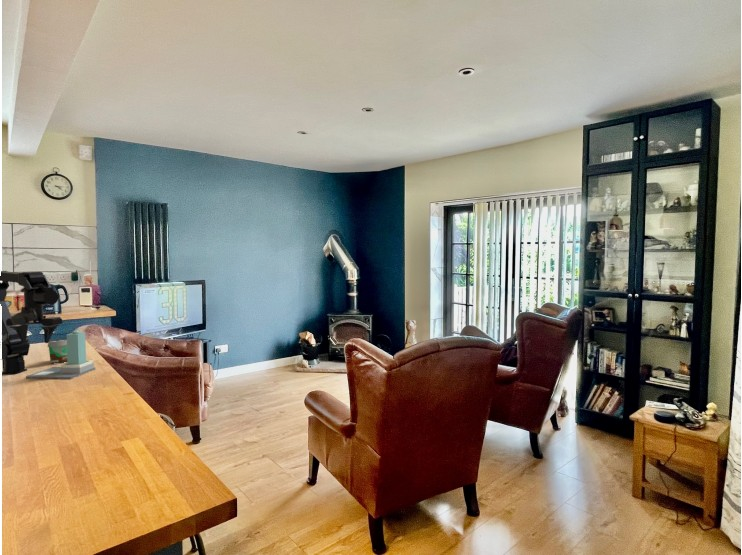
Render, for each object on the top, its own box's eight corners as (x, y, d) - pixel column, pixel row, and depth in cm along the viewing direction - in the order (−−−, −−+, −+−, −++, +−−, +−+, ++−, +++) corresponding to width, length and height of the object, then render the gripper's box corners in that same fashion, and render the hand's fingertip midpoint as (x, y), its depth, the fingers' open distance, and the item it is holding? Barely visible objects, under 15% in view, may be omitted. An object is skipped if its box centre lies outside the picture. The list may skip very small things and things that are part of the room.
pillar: (67, 366, 176) (66, 332, 175) (75, 363, 180) (74, 330, 180) (78, 366, 176) (77, 332, 175) (86, 363, 180) (85, 330, 180)
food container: (62, 365, 190) (61, 342, 189) (48, 365, 190) (47, 342, 189) (81, 358, 202) (80, 336, 202) (68, 358, 202) (67, 336, 202)
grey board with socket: (25, 378, 170) (25, 368, 170) (53, 368, 184) (53, 359, 184) (71, 378, 169) (70, 368, 169) (95, 369, 183) (94, 359, 183)
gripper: (-8, 306, 165) (-6, 347, 165) (40, 306, 164) (42, 347, 165) (17, 302, 176) (19, 341, 177) (62, 302, 175) (64, 341, 176)
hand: (35, 343), depth 173 cm, fingers open, 9 cm apart
